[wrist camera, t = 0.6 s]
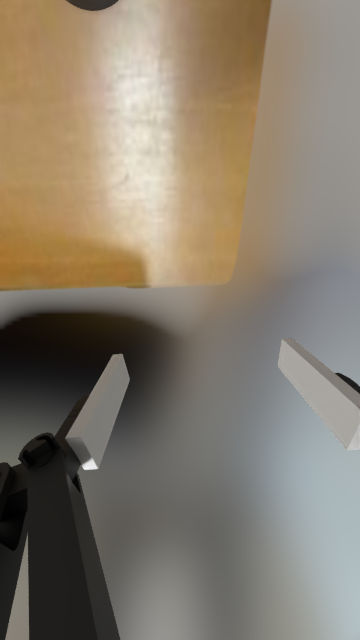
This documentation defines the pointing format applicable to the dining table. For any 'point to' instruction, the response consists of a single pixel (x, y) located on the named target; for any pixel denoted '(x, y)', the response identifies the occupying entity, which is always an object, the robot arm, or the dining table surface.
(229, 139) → the dining table surface
